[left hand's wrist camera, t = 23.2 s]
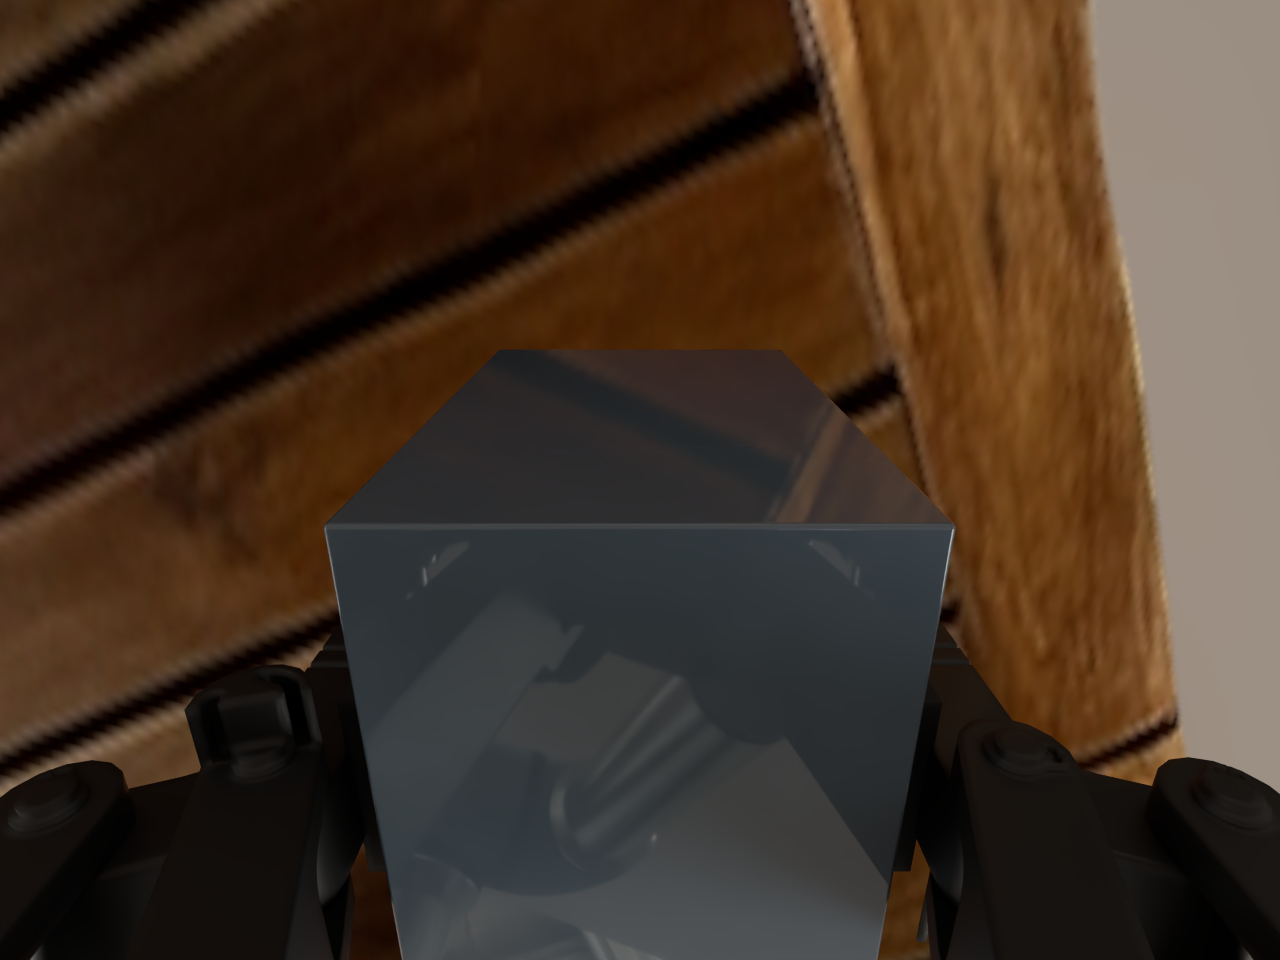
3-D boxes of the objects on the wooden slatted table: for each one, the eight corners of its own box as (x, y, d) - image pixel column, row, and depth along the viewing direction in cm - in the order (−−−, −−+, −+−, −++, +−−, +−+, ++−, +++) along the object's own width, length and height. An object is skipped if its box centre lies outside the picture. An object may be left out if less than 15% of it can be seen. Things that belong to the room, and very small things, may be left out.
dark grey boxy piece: (756, 691, 17) (854, 1096, 9) (522, 691, 17) (424, 1096, 9) (781, 349, 14) (959, 524, 6) (497, 349, 14) (320, 524, 6)
